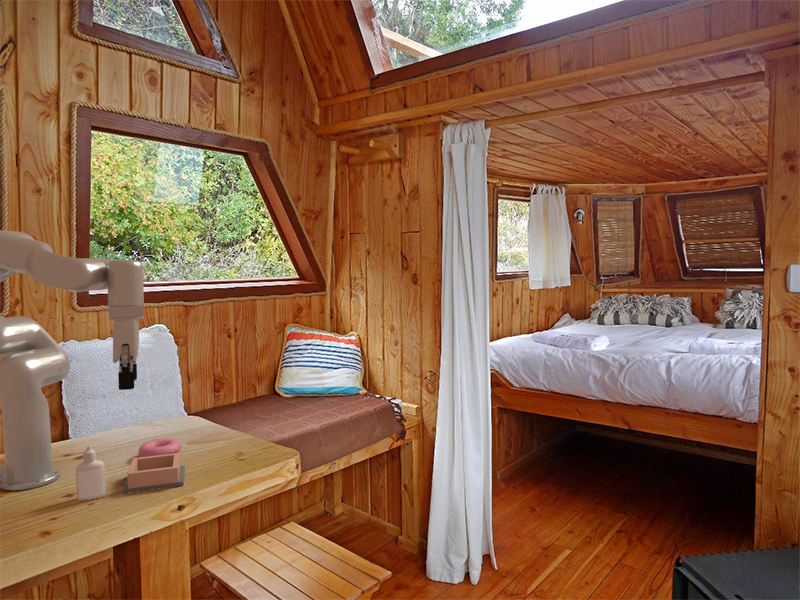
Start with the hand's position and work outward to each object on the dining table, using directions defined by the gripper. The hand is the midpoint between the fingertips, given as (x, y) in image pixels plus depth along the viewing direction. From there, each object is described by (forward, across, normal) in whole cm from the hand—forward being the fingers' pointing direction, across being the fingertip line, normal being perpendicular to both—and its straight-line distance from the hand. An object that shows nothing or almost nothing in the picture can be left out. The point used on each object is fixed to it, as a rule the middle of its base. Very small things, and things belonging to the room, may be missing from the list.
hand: (128, 384), depth 132 cm
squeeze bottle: (+25, +4, -8) cm, 26 cm away
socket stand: (+24, 0, +6) cm, 25 cm away
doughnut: (+25, -18, +6) cm, 31 cm away
